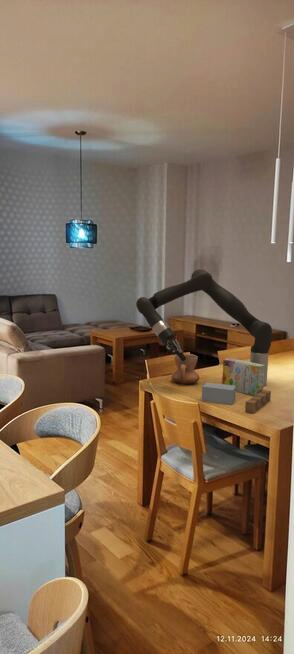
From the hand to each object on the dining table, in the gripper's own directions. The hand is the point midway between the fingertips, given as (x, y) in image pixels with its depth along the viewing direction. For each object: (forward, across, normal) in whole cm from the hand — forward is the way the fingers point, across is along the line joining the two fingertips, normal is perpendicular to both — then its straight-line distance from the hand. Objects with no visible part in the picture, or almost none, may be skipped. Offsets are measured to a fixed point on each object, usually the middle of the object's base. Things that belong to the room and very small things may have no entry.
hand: (184, 360), depth 225 cm
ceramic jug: (+6, +19, +18) cm, 27 cm away
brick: (+25, 0, -1) cm, 25 cm away
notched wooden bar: (+37, +3, -14) cm, 40 cm away
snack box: (+27, +22, -3) cm, 35 cm away
